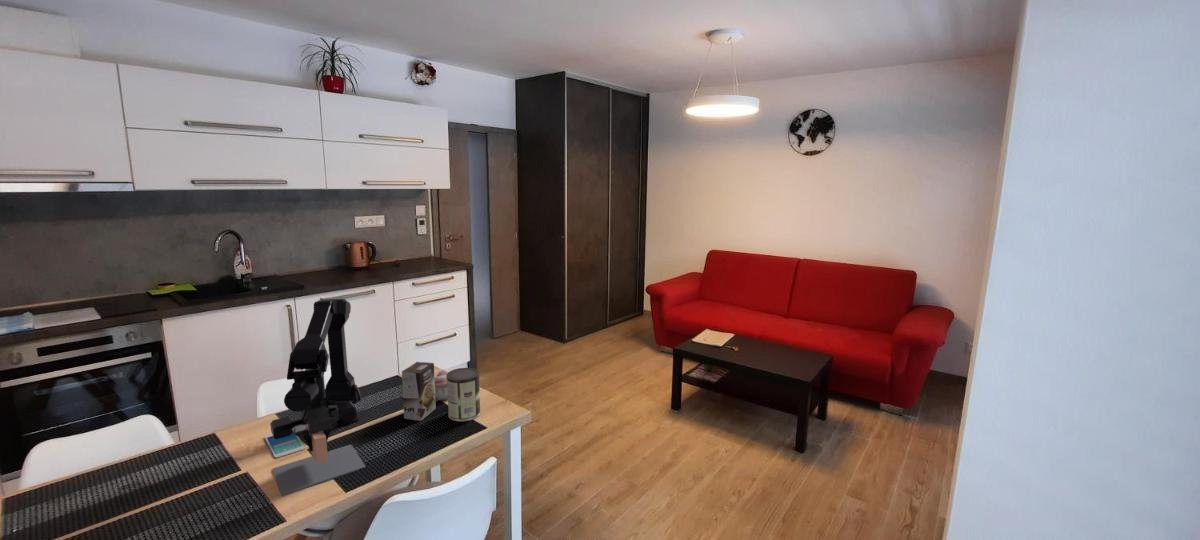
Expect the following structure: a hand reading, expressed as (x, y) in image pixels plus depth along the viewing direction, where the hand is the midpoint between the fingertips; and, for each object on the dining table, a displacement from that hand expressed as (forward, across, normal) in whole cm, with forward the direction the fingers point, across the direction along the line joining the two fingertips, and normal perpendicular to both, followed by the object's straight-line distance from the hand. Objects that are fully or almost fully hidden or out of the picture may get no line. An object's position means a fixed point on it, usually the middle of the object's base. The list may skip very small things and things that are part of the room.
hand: (317, 449), depth 129 cm
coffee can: (+6, +43, +5) cm, 44 cm away
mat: (+6, 0, 0) cm, 6 cm away
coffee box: (+6, +32, +14) cm, 35 cm away
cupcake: (+6, +43, +21) cm, 48 cm away
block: (+2, 0, 0) cm, 2 cm away
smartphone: (+6, -5, +20) cm, 21 cm away
